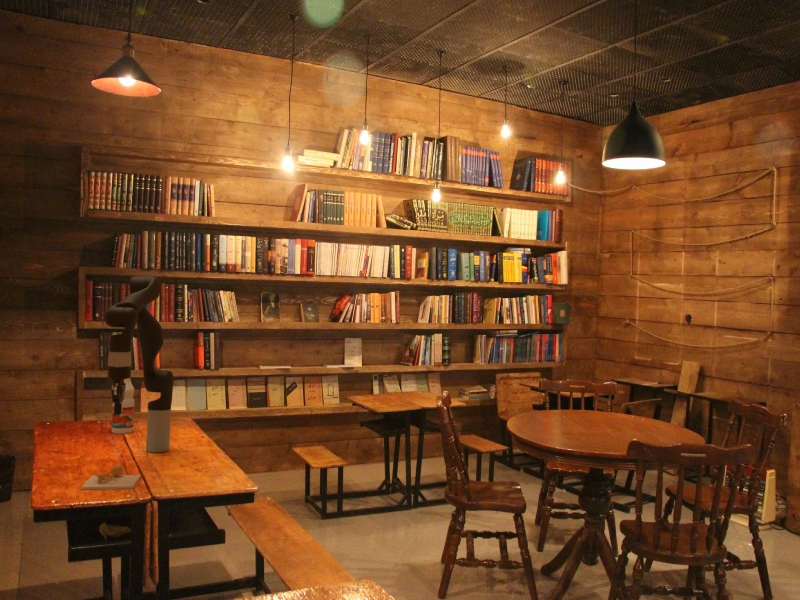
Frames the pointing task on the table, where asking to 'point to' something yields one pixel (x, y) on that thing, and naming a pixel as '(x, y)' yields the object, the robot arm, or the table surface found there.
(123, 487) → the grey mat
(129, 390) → the fruit juice
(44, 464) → the table surface
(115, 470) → the figurine
